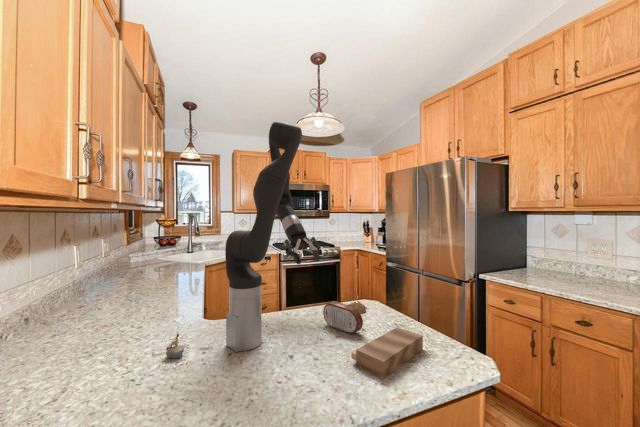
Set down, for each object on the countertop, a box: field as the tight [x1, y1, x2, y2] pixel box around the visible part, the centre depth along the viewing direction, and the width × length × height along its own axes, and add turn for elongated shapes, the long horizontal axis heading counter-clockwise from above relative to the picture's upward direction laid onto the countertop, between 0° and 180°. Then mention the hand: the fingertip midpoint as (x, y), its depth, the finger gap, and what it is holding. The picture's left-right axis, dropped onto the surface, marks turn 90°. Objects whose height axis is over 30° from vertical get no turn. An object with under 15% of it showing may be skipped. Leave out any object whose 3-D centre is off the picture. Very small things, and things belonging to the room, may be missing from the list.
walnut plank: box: [350, 326, 424, 380], centre depth 74 cm, size 20×10×4 cm, turn 134°
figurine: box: [165, 332, 185, 359], centre depth 75 cm, size 5×4×6 cm
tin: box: [322, 300, 364, 335], centre depth 92 cm, size 15×3×8 cm, turn 47°
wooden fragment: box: [348, 300, 367, 314], centre depth 109 cm, size 26×11×1 cm, turn 154°
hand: (309, 261), depth 104 cm, fingers open, 8 cm apart
